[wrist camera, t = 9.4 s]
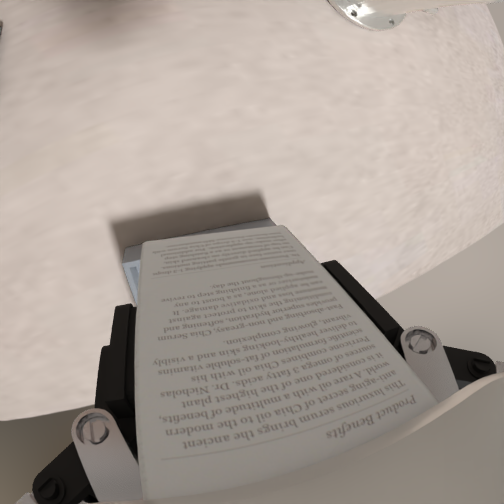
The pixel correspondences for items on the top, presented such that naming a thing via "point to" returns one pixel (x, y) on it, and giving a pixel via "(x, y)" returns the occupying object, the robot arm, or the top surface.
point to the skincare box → (255, 364)
